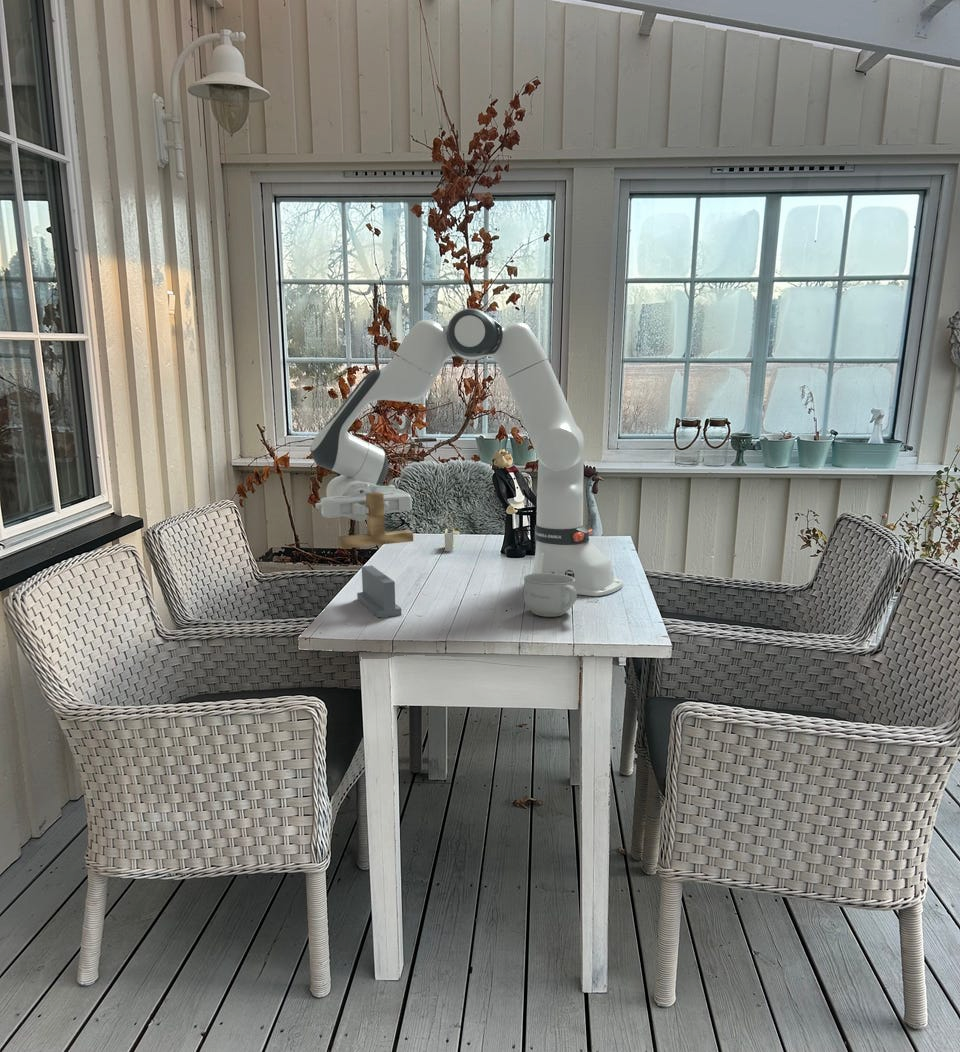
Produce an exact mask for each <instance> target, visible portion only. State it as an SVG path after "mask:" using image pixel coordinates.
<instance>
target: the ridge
mask: <svg viewBox="0 0 960 1052" xmlns="http://www.w3.org/2000/svg"><path fill="white" fill-rule="evenodd" d="M361 581H362V583H361V584H362V585H361V586H362V587H361V588H362V591H360V592H357V593H356V599H357V600H358V601H359V602H360V603H361V602H362V603H363V604H364V605H363V604H362V603H361V604H362V605H363V606H365V607H366V608H367V609H368V610H369V611H370V610H371V611H372V612H371V611H370V612H371V613H372V614H373V615H375V616H376V615H377V616H378V617H384V618H388V617H387V616H391V617H396V615H398V616H402V607H400V606H399V605H398V604H397V603H396V583H395V580H393V579H391V578H390V577H389V576H387V575H386V574H384V573H383V572H382V571H381V570H379V569H377V568H376V567H375V566H374V565H364V566H363V565H362V566H361ZM377 616H376V617H377ZM378 617H377V618H378Z"/></svg>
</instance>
